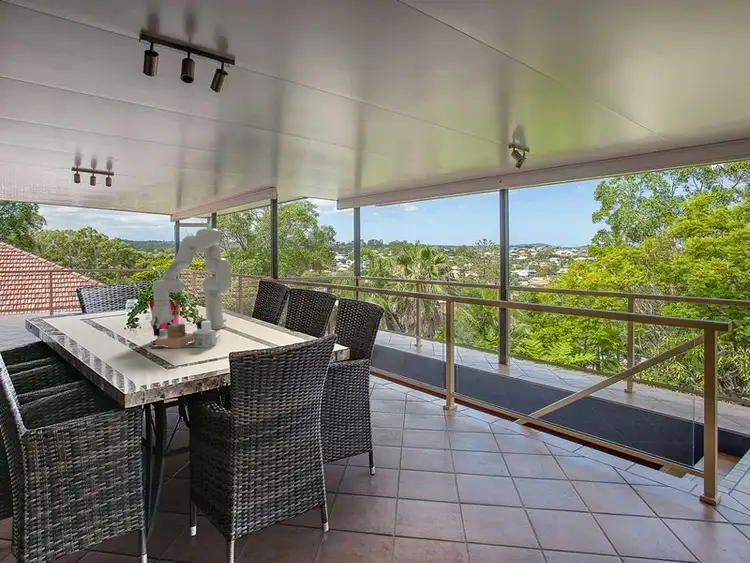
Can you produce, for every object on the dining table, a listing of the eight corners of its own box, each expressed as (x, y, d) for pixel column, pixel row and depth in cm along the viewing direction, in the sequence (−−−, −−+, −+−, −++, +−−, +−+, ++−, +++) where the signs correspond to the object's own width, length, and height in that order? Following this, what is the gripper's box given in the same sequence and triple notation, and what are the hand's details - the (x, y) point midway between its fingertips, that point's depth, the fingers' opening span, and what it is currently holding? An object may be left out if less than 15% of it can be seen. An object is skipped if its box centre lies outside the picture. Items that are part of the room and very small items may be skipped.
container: (193, 346, 222) (192, 321, 221) (205, 343, 229) (204, 318, 228) (204, 348, 219) (202, 322, 217) (216, 344, 226) (215, 320, 224)
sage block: (163, 337, 244) (163, 328, 243) (171, 338, 243) (170, 329, 242) (157, 339, 239) (156, 330, 238) (165, 340, 238) (164, 331, 237)
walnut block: (175, 334, 232) (174, 323, 231) (185, 335, 231) (184, 324, 230) (167, 337, 226) (167, 326, 225) (177, 337, 225) (177, 326, 224)
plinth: (174, 340, 237) (174, 332, 237) (197, 341, 234) (196, 333, 233) (156, 346, 223) (155, 338, 223) (179, 347, 220) (179, 340, 220)
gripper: (166, 300, 248) (168, 330, 249) (144, 304, 231) (145, 336, 233) (178, 301, 246) (179, 331, 248) (156, 305, 229) (157, 337, 231)
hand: (163, 333), depth 240 cm, fingers open, 9 cm apart
